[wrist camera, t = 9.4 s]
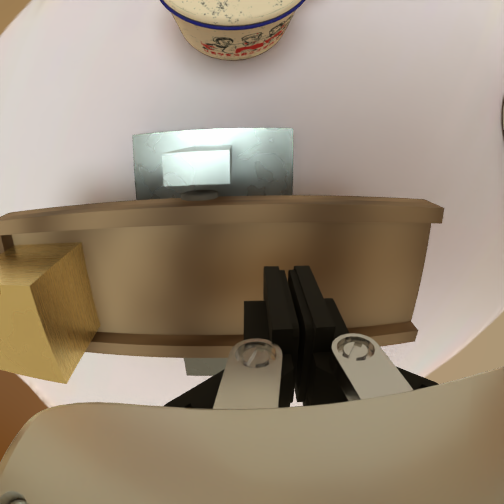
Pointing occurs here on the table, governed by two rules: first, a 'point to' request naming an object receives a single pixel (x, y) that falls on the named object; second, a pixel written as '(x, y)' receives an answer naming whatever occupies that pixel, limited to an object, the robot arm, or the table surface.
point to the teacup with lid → (232, 25)
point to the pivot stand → (213, 174)
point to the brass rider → (45, 310)
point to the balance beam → (235, 263)
